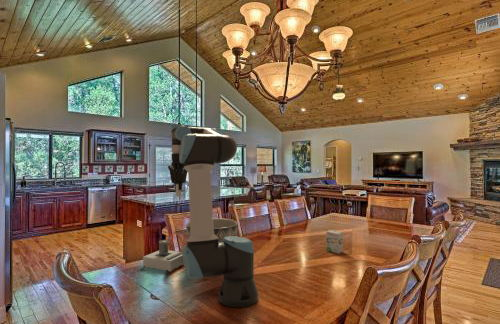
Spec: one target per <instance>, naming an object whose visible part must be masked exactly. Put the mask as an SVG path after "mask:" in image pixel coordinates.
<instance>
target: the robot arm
mask: <svg viewBox="0 0 500 324" xmlns="http://www.w3.org/2000/svg"><path fill="white" fill-rule="evenodd" d="M170 131H171V150H170V151H171V164H170V165H167V168H168V170H169V171H168V172H169V175H170V181H171V184H174V190H175V197H181V196H182V190H183V184H186V181H187V177H188V195H189V196H188V197H189V198H188V201H189V222H190V229H191V236H190V237H189V239H188V240H187V239H186V245H183V246H182V249H181V250H182V251H181V252H183V253H182V255H183V262H184V264H183V266H184V271H185V273H186V276H187V277H188V278H189V279H191V280H196V279H198V280H199V279H201V280H203V278H204V279H205V278H209V277H210V278H211V277H216V276H217V277H218V276H222V275H223V276H222V277H223V278H222V283H221V285H220V289H219V291H218V301H219V303H220V302H221V303H222V304H221V303H220V304H221V305H223V304H224V305H223V306H225V305H226V306H225V307H228V306H230V307H229V308H233V307H242V308H247V307H246V306H248V307H251V306H252V304H253V305H255V304H257V301H258V300H259V292H258V287H257V285H256V281H255V279H254V278H255V277H254V275H255V273H254V272H255V271H254V267H255V266H254V264H255V262H254V259H255V258H254V256H255V250H254V242H253V241H252V240H251V239H249V238H246V237H242V236H238V235H237V236H227V237H224V239H223V242H218V237H217V236H216V235H215V234H214V226H213V218H214V213H213V194H212V193H213V191H212V176H211V175H212V173H211V171H212V170H213V169H214V168H215V164H223V163H227V162H229V161H230V160H232V159H233V158H234V157H235V156H236V153H237V150H238V145H237V142H236V141H235V139H234V138H233V137H231V136H229V135H227V134H220V133H218V131H217V129H216V128H212V127H197V126H196V127H193V126H187V125H184V124H173V125H171V130H170ZM187 175H188V176H187ZM254 303H255V304H254ZM250 305H251V306H250Z"/></svg>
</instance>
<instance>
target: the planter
mask: <svg viewBox="0 0 500 324" xmlns="http://www.w3.org/2000/svg"><path fill="white" fill-rule="evenodd" d="M185 225H186V241H187V240H188V239H189V237H190V236H191V229H190V221H188V222H187V223H185ZM213 226H214V234H215V235H216V236H217V237H218V242H223V239H224V237H227V236H237V237H238V226H239V223H238V221H236V220H234V219H230V218H214V217H213Z"/></svg>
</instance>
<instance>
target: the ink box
mask: <svg viewBox="0 0 500 324" xmlns="http://www.w3.org/2000/svg"><path fill="white" fill-rule="evenodd" d="M343 234H344V233H343V232H342V231H339V230H338V231H337V230H334V229H333V230H332V229H329V230H327V231H326V233H325V235H326V238H325V240H326V241H325V242H326V247H325V248H326V252H332V253H335V254H341V253H343V251H344V250H343V248H344V245H343V243H344V242H343V241H344V238H343V237H344V235H343Z"/></svg>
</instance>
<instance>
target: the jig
mask: <svg viewBox="0 0 500 324" xmlns="http://www.w3.org/2000/svg"><path fill="white" fill-rule="evenodd" d="M182 253H183V251H177V250H169V249H168V256H166V257H160V256H159V250H156V251H154V252H152V253H149V254H146V255H144V256H143V257H142V267H143V266H145V267H144V268H148V267H151V268H150V269H153V268H156V269H155V270H159V269H162V270H161V271H165V270H168V271H167V272H173V271H174V270H176V269H178V268H179V266H180V267H181V265H182V266H184V262H183V255H182ZM175 268H176V269H175ZM173 269H174V270H173Z"/></svg>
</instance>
